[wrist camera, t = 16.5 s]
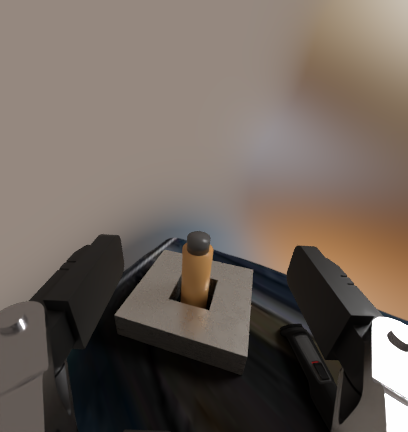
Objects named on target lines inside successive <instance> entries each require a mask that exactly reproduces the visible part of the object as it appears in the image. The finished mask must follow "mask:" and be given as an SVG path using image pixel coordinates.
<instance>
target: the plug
mask: <svg viewBox="0 0 408 432" xmlns="http://www.w3.org/2000/svg"><path fill="white" fill-rule="evenodd" d="M212 257H213V248H212V246H211V245H210V236H209V235H208V234H207V233H205V232H201V231H195V232H191V233H190V234H189V235H188V236H187V243H186V244H185V245H184V246H183V253H182V281H181V303H184V304H188V305H192V306H195V307H199V308H202V309H206V307H207V299H208V290H209V282H210V274H211V265H212Z"/></svg>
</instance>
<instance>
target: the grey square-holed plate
mask: <svg viewBox="0 0 408 432" xmlns="http://www.w3.org/2000/svg"><path fill="white" fill-rule="evenodd" d="M252 279H253V270H251V269H247V268H243V267H238V266H234V265H229V264H225V263H221V262H216V261H212V265H211V274H210V282H209V290H208V295H211V296H213V299H212V303H211V306H210V310H206V309H202V308H199V307H195V306H192V305H188V304H184V303H181V302H177V301H176V300H177V298H178V296H179V294H180V292H181V281H182V254H181V253H177V252H172V251H168V250H164V251H163V252H162V254H161V255H160V256H159V258H158V259H157V260H156V262H155V263H154V264H153V265H152V267H151V268H150V269H149V271H148V272H147V273H146V275H145V276H144V277H143V278H142V280H141V281H140V282H139V284H138V285H137V286H136V288H135V289H134V290H133V291H132V293H131V294H130V295H129V297H128V298H127V299H126V301H125V302H124V303H123V304H122V306H121V307H120V308H119V310H118V311H117V312H116V314H115V315H114V316H115V322H116V327H117V333H118V334H120V335H123V336H126V337H129V338H132V339H135V340H138V341H141V342H144V343H147V344H150V345H153V346H156V347H159V348H162V349H165V350H168V351H171V352H174V353H177V354H180V355H183V356H186V357H189V358H191V359H194V360H197V361H200V362H203V363H206V364H209V365H212V366H215V367H218V368H221V369H224V370H227V371H230V372H233V373H236V374H239V375H242V374H243V370H244V367H245V363H246V360H247V354H248V339H249V324H250V309H251V294H252Z"/></svg>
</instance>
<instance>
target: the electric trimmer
mask: <svg viewBox="0 0 408 432" xmlns="http://www.w3.org/2000/svg"><path fill="white" fill-rule="evenodd" d="M280 329H281V335H282V336H285V337H287V339H288V340H289V343H290V345H291V347H292V349H293V351H294V353H295V355H296V357H297V359H298V361H299V363H300V365H301V367H302V369H303V371H304V373H305V375H306V377H307V379H308V382H309V388H310V396H311V398H312V400H313V402H314V404H315V406H316V408H317V410H318V411H319V413H320V415H321V417H322V419H323V420H324V422H325V424H326V426H327V427H328V429H329V431H330V432H331V428H332V423H333V415H334V407H335V400H336V392H337V386H336V384H335V382H334V379H333V377H332V375H331V373H330V371H329V370H328V368H327V366H326V364H325V362H324V360H323V358H322V357H321V355H320V353H319V351H318V349H317V347H316V345H315V344H314V342H313V340H312V338H311V337H310V335H309V333H308V332H307V330H305V329H304V328H303V327H302V324H290V325H286V326H283V327H281V328H280Z"/></svg>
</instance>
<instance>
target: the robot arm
mask: <svg viewBox="0 0 408 432" xmlns="http://www.w3.org/2000/svg"><path fill="white" fill-rule="evenodd" d="M123 270H124V259H123V252H122V246H121V239H120V237H119V236H118V235H104V234H101V235H99V236H98V237H97V238H96V239H95V241H94V242H93V243H92V244H91V245H86V246H84V247H82V248H81V249H79V250H78V251H76V252H74V253H73V255H72V256H71V257H70V258H69V259H68V260H67V262H66V263H64V264H63V265H62V266H61V267H60V269H59V270H57V271H56V273H55V274H54V275H53V276H52V277H51V278H50V279H49V280H48V281H47V282H46V283H45V284H44V285H43V286H42V287H41V288H40V290H39V291H38V292H37V293H36V294H35V295H34V296H33V297H32V298H31V299H30V300H29V301H26V302H21V303H17V304H14V305H11V306H9V307H7V308H5V309H3V310H1V311H0V432H78V429H77V425H76V420H75V414H74V407H73V400H72V393H71V386H70V379H69V373H68V366H67V361H66V358H67V356H68V355H69V353H70V351H71V349H85V347H86V345H87V343H88V341H89V339H90V337H91V335H92V334H93V332H94V330H95V328H96V326H97V324H98V322H99V320H100V318H101V316H102V314H103V312H104V310H105V308H106V306H107V304H108V302H109V300H110V298H111V296H112V294H113V292H114V290H115V288H116V287H117V285H118V283H119V281H120V279H121V277H122V274H123ZM287 282H288V285H289V288H290V290H291V292H292V294H293V296H294V298H295V300H296V302H297V304H298V306H299V308H300V310H301V312H302V314H303V316H304V318H305V320H306V322H307V324H308V326H309V328H310V330H311V332H312V334H313V336H314V338H315V340H316V342H317V344H318V346H319V348H320V350H321V353H322V355H323V357H324V359H325V360H339V362H340V363H341V365H342V368H341V369H340V371H339V377H338V385H337V392H336V400H335V407H334V415H333V423H332V428H331V432H408V326H406V325H405V324H403V323H401V322H399V321H396V320H394V319H390V318H386V317H383V316H382V314H381V313H380V312H379V311H378V310H377V309H376V308H375V307H374V306H373V304H372V303H371V302H370V301H369V300H368V299H367V298H366V296H365V295H364V294H363V293H362V292H361V291H360V290H359V289H358V288H357V286H354V283H353V282H352V281H351V279H350V278H347V275H346V274H345V273H344V272H343V271H342V269H341V268H340V267H339V266H338V265H336V264H335V263H333V262H332V261H330V260H329V259H327V258H325V257H324V256H323V254H322V253H321V252H320V251H319V250H318V248H316V247H314V246H312V247H311V246H296V247H295V249H294V252H293V255H292V258H291V261H290V265H289V268H288V271H287ZM124 432H170V431H149V430H124Z"/></svg>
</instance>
